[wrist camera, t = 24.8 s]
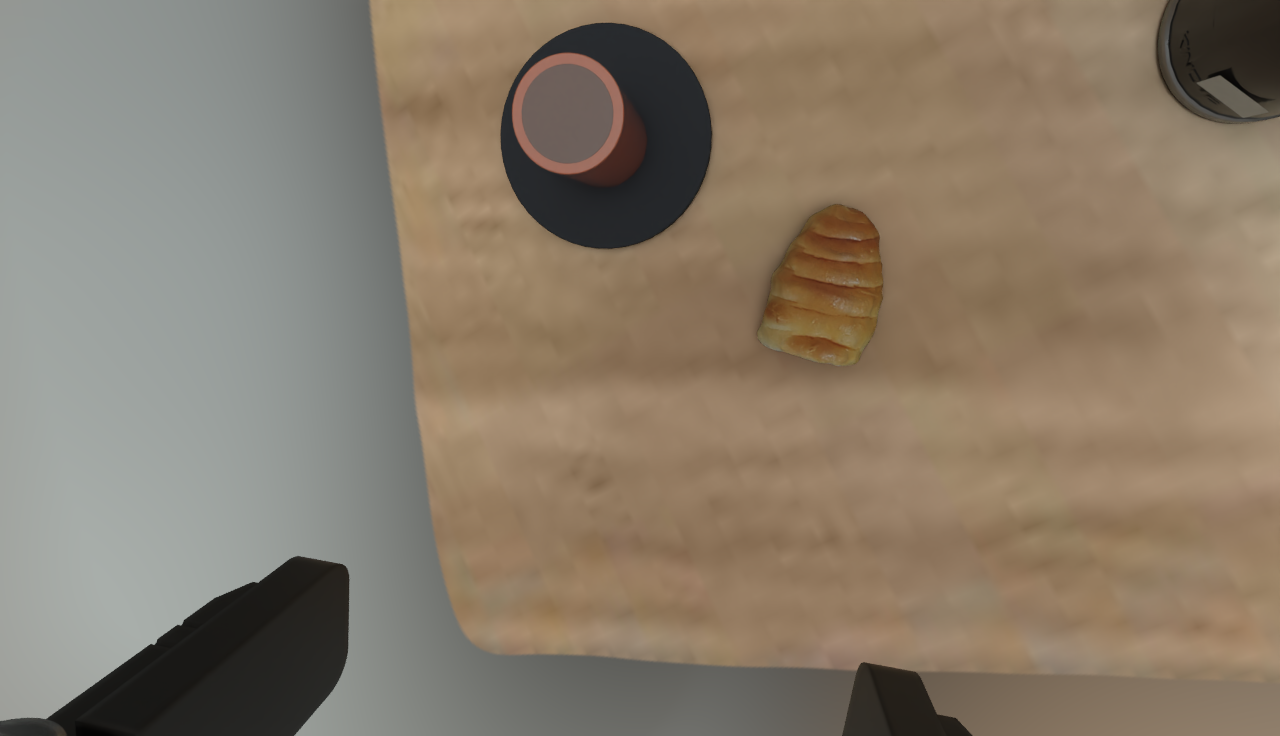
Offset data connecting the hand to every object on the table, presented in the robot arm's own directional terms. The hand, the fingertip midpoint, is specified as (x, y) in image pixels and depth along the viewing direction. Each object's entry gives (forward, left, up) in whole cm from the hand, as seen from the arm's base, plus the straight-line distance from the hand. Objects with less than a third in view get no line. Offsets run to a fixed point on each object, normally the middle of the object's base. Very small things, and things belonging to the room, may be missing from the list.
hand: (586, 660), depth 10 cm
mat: (-2, -13, -32) cm, 35 cm away
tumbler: (-2, -13, -31) cm, 34 cm away
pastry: (-8, +2, -32) cm, 33 cm away
